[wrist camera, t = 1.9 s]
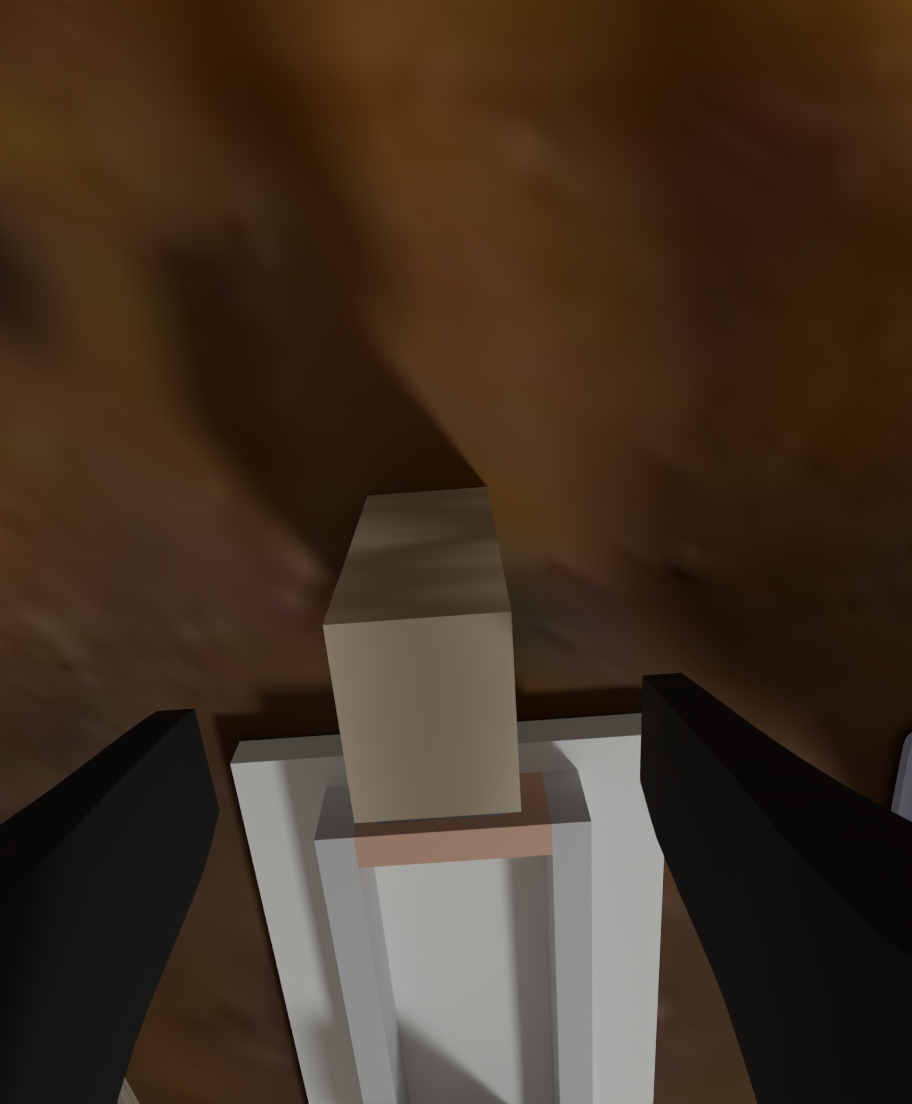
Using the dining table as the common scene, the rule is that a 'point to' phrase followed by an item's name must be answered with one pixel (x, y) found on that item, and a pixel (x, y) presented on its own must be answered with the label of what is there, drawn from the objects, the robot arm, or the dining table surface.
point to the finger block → (425, 661)
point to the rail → (465, 926)
